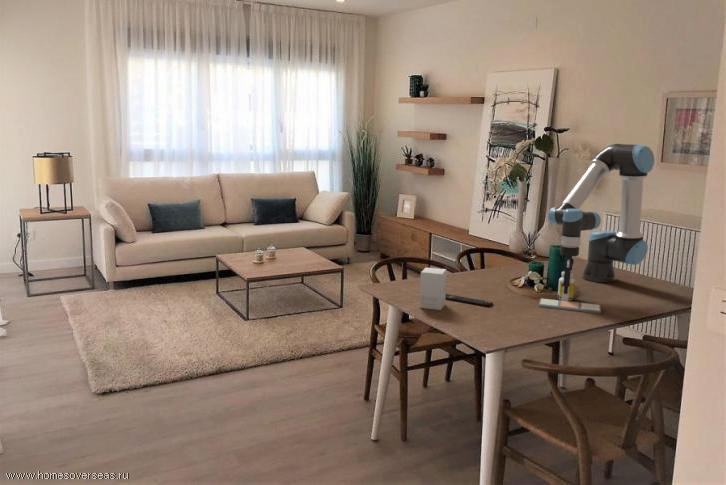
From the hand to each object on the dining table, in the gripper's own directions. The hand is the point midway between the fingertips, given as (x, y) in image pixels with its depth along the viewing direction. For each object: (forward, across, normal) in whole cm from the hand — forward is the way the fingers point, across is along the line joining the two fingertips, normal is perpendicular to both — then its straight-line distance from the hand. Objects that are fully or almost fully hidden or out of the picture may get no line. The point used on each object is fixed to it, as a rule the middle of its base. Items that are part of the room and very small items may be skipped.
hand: (565, 298), depth 273 cm
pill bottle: (0, 0, 0) cm, 0 cm away
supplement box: (+1, +32, -51) cm, 60 cm away
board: (0, +11, +2) cm, 11 cm away
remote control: (+1, +20, -40) cm, 44 cm away
